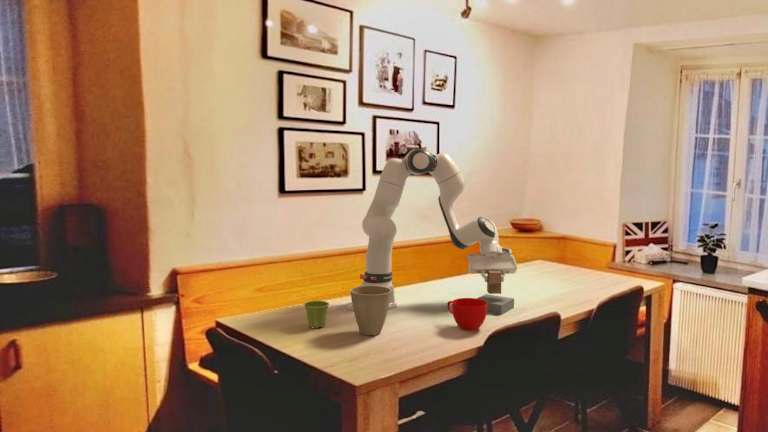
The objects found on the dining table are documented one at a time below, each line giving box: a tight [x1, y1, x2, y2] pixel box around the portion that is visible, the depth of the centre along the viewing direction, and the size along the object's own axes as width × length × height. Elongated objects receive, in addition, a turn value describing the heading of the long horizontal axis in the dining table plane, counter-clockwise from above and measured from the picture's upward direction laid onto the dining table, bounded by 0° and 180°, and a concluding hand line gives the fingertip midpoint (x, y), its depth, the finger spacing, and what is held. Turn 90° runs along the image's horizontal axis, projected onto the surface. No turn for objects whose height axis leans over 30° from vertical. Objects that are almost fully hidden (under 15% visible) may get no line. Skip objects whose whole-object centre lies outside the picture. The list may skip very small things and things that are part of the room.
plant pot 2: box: [349, 285, 391, 336], centre depth 207 cm, size 15×15×16 cm
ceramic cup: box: [446, 297, 488, 332], centre depth 214 cm, size 13×17×10 cm
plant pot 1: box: [303, 300, 330, 329], centre depth 214 cm, size 9×9×9 cm
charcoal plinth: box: [476, 293, 515, 316], centre depth 240 cm, size 13×13×4 cm
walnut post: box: [486, 270, 503, 295], centre depth 239 cm, size 5×5×9 cm
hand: (494, 281), depth 238 cm, fingers closed on walnut post, 5 cm apart
